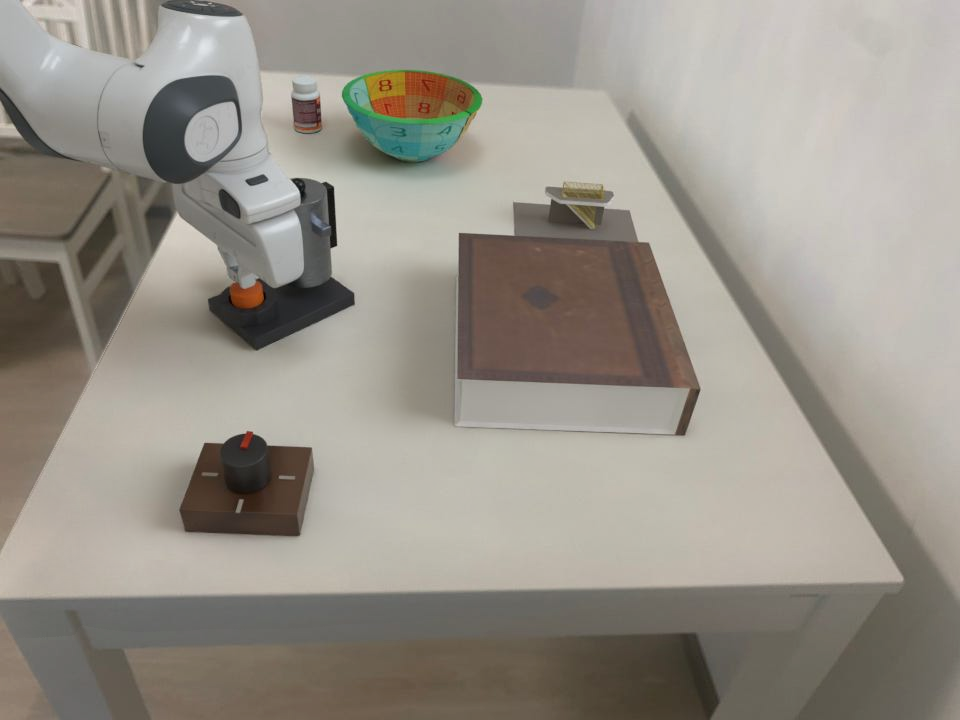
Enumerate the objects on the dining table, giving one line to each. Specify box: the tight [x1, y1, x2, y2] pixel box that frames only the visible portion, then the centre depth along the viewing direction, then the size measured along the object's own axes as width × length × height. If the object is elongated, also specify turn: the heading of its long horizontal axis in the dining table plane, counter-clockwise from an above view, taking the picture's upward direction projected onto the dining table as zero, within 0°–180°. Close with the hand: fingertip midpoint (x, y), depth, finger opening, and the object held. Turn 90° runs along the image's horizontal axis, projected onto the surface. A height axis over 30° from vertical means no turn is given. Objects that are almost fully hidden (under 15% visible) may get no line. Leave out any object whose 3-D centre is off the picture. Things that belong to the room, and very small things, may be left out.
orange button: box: [230, 281, 264, 309], centre depth 88 cm, size 4×4×2 cm
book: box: [453, 232, 702, 436], centre depth 89 cm, size 24×28×6 cm
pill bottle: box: [290, 75, 323, 134], centre depth 131 cm, size 5×5×8 cm
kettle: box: [287, 177, 338, 288], centre depth 89 cm, size 8×8×12 cm
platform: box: [513, 180, 639, 242], centre depth 112 cm, size 12×18×7 cm, turn 89°
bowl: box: [341, 69, 483, 163], centre depth 126 cm, size 22×22×10 cm
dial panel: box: [178, 442, 315, 537], centre depth 70 cm, size 10×8×3 cm
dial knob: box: [220, 430, 272, 493], centre depth 68 cm, size 4×4×4 cm
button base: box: [207, 276, 356, 351], centre depth 92 cm, size 15×10×4 cm
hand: (242, 281), depth 87 cm, fingers closed
